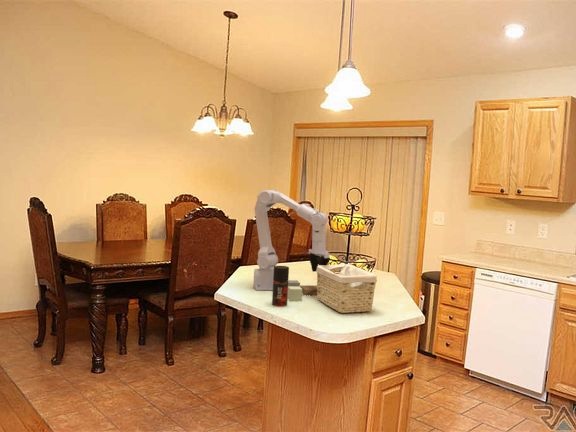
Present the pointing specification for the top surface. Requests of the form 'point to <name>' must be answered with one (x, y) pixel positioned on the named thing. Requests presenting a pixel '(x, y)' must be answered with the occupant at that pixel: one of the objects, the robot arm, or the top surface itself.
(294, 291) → the beige cube
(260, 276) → the robot arm
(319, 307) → the top surface
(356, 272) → the storage basket
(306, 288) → the walnut slab
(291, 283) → the slate cube
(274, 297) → the deodorant
